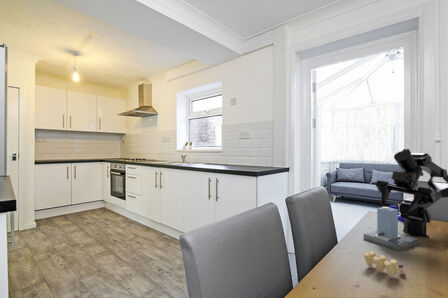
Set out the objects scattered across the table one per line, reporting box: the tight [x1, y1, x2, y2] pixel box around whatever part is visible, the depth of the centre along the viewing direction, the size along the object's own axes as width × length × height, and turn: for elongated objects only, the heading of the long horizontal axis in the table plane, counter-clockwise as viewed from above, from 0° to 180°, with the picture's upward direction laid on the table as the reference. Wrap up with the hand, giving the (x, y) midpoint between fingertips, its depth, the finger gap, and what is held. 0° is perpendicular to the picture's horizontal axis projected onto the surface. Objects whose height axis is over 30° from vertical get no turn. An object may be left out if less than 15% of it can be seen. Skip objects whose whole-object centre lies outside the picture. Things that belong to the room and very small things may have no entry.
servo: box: [374, 206, 401, 241], centre depth 85 cm, size 10×4×13 cm, turn 116°
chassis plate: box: [363, 230, 420, 252], centre depth 86 cm, size 14×12×2 cm
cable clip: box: [389, 205, 405, 223], centre depth 115 cm, size 12×4×6 cm, turn 173°
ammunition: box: [362, 250, 406, 279], centre depth 64 cm, size 5×7×8 cm
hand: (395, 207), depth 88 cm, fingers open, 9 cm apart
